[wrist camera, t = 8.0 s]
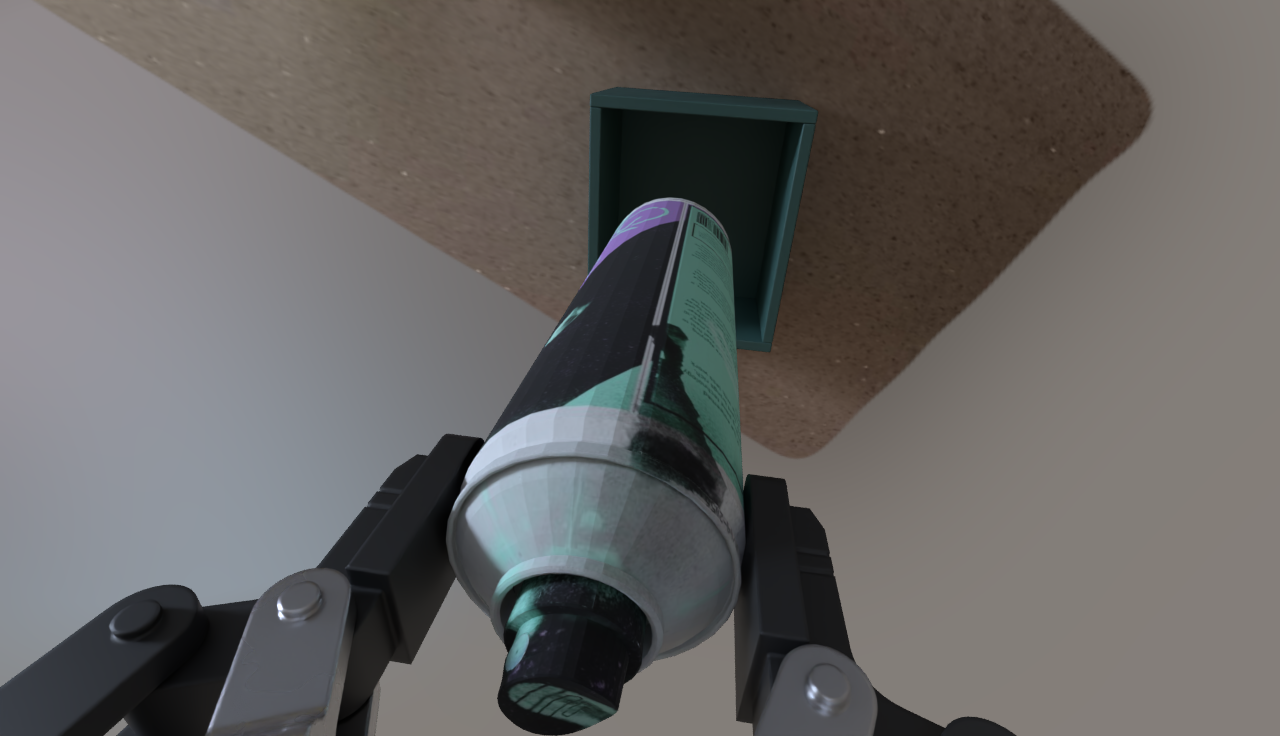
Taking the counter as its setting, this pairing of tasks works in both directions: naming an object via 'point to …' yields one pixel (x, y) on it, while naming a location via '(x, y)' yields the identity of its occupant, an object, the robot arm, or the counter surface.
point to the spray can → (613, 478)
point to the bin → (707, 180)
